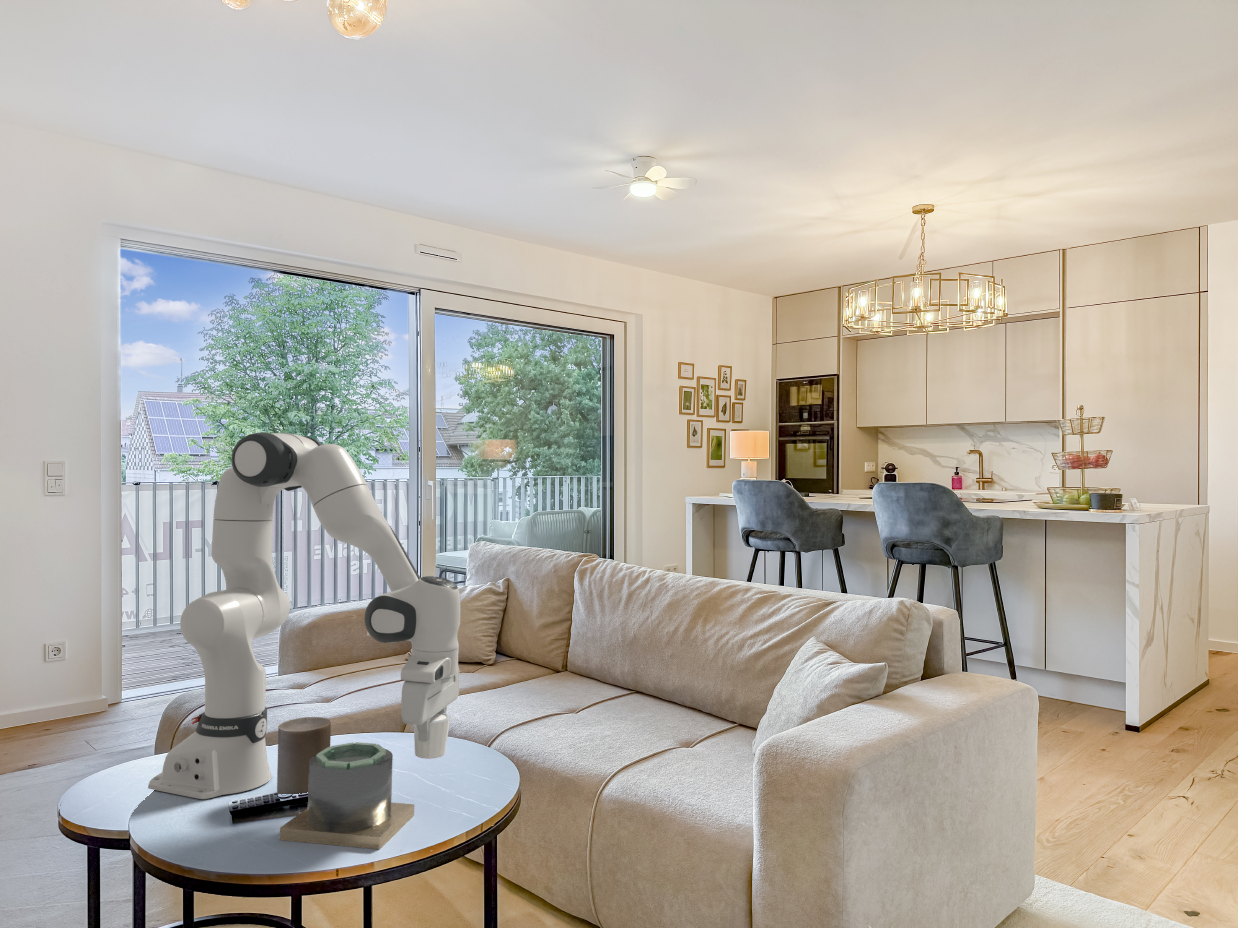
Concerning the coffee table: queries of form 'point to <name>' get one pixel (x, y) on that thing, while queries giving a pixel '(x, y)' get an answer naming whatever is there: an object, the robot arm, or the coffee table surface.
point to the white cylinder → (433, 737)
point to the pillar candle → (299, 751)
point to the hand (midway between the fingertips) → (430, 735)
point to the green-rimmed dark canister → (349, 799)
